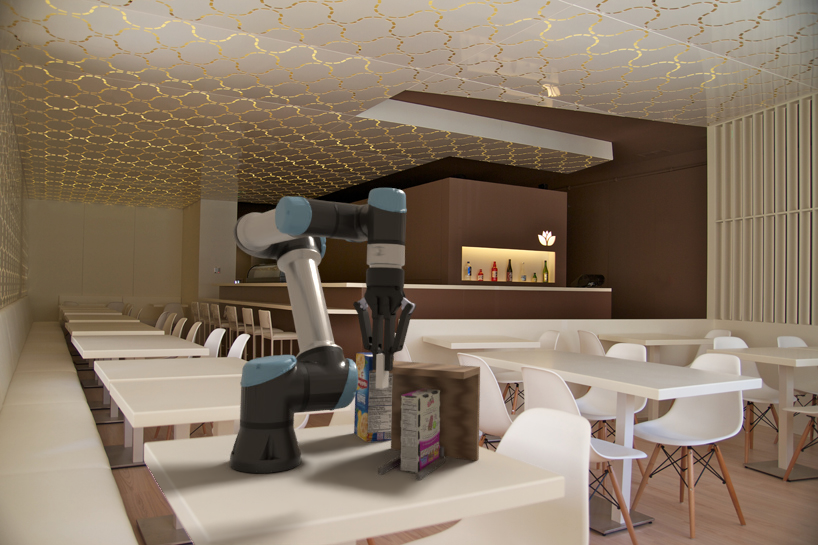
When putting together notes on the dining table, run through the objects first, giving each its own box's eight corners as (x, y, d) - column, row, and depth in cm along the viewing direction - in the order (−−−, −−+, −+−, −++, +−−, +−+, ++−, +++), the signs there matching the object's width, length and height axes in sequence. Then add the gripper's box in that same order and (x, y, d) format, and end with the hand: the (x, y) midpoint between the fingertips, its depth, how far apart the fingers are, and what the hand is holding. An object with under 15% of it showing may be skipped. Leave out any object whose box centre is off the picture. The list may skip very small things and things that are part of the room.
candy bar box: (420, 458, 132) (422, 387, 133) (440, 462, 130) (441, 389, 131) (398, 471, 122) (399, 394, 123) (419, 474, 120) (420, 396, 121)
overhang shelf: (352, 469, 123) (355, 369, 124) (393, 447, 142) (395, 360, 143) (448, 484, 114) (450, 376, 115) (478, 459, 133) (480, 366, 134)
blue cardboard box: (366, 442, 147) (369, 356, 148) (353, 433, 157) (356, 352, 158) (391, 440, 149) (393, 356, 150) (377, 431, 159) (379, 352, 161)
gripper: (347, 265, 112) (343, 387, 110) (408, 266, 106) (404, 393, 105) (365, 268, 118) (361, 382, 117) (423, 268, 113) (420, 387, 112)
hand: (382, 387), depth 111 cm, fingers closed
